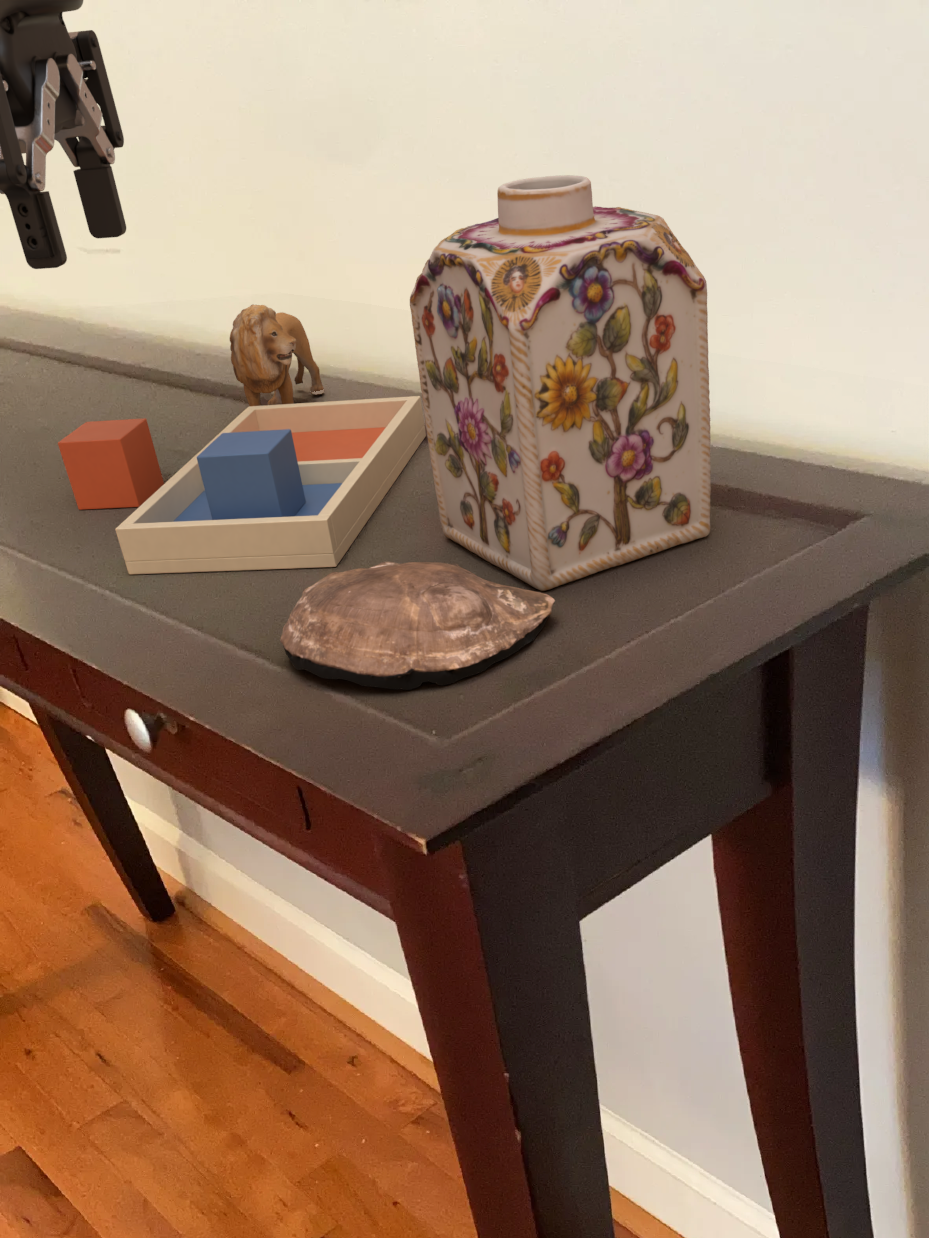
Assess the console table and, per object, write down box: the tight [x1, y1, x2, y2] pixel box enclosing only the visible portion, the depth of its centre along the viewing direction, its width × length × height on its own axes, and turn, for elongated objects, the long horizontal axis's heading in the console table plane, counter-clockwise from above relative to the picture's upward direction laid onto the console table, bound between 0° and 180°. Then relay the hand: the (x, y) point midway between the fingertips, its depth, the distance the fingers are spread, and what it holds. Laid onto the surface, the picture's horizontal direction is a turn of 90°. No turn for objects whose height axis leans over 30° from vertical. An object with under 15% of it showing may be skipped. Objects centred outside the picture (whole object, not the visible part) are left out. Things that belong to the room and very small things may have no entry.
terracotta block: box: [57, 418, 165, 511], centre depth 87 cm, size 4×4×4 cm
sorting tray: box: [115, 395, 427, 575], centre depth 83 cm, size 13×24×3 cm, turn 171°
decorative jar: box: [409, 174, 712, 592], centre depth 68 cm, size 12×12×18 cm
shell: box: [279, 561, 556, 691], centre depth 63 cm, size 12×13×4 cm
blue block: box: [197, 429, 306, 520], centre depth 77 cm, size 4×4×4 cm
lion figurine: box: [229, 304, 325, 407], centre depth 97 cm, size 15×5×9 cm, turn 2°
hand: (80, 251), depth 76 cm, fingers open, 8 cm apart
